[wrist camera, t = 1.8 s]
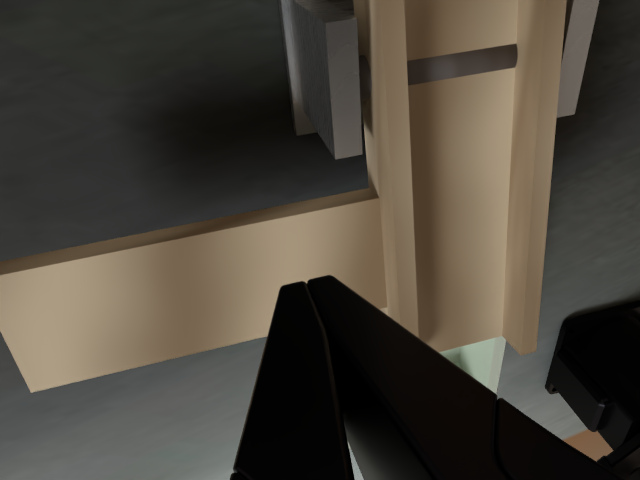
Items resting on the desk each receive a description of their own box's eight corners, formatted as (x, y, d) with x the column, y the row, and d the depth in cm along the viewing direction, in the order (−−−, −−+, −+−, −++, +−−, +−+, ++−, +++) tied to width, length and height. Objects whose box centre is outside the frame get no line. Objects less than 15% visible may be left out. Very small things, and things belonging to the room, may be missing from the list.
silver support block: (501, -76, 17) (621, -72, 12) (483, 96, 20) (572, 149, 16) (272, -48, 16) (312, -33, 11) (293, 130, 19) (331, 198, 15)
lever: (508, -381, 12) (665, -579, 8) (487, 295, 21) (558, 363, 17) (-265, -368, 10) (-598, -647, 6) (76, 396, 18) (43, 503, 14)
